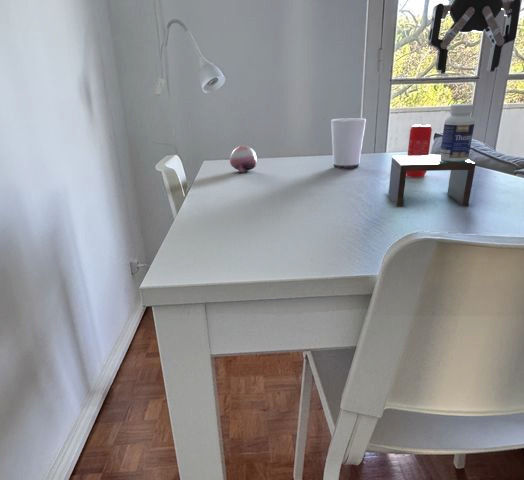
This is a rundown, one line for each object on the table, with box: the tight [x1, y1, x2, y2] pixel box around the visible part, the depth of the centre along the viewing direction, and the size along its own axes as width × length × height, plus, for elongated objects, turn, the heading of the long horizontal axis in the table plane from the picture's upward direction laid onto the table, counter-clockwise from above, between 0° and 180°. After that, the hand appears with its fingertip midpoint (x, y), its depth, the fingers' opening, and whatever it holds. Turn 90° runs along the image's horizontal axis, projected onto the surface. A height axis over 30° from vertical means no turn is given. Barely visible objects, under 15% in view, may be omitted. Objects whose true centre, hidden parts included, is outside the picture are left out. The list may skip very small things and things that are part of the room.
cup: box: [330, 117, 367, 170], centre depth 137 cm, size 10×10×13 cm
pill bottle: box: [439, 103, 476, 162], centre depth 90 cm, size 5×5×10 cm
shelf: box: [388, 154, 477, 208], centre depth 98 cm, size 14×12×8 cm
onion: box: [229, 144, 258, 173], centre depth 137 cm, size 8×8×7 cm
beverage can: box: [406, 124, 433, 178], centre depth 120 cm, size 5×5×12 cm
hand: (466, 72), depth 85 cm, fingers open, 8 cm apart
